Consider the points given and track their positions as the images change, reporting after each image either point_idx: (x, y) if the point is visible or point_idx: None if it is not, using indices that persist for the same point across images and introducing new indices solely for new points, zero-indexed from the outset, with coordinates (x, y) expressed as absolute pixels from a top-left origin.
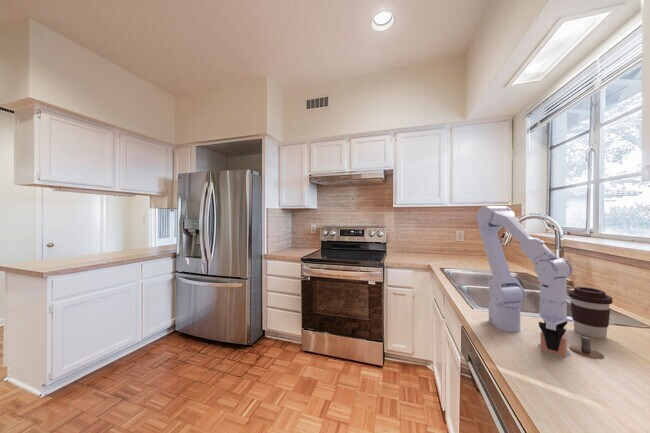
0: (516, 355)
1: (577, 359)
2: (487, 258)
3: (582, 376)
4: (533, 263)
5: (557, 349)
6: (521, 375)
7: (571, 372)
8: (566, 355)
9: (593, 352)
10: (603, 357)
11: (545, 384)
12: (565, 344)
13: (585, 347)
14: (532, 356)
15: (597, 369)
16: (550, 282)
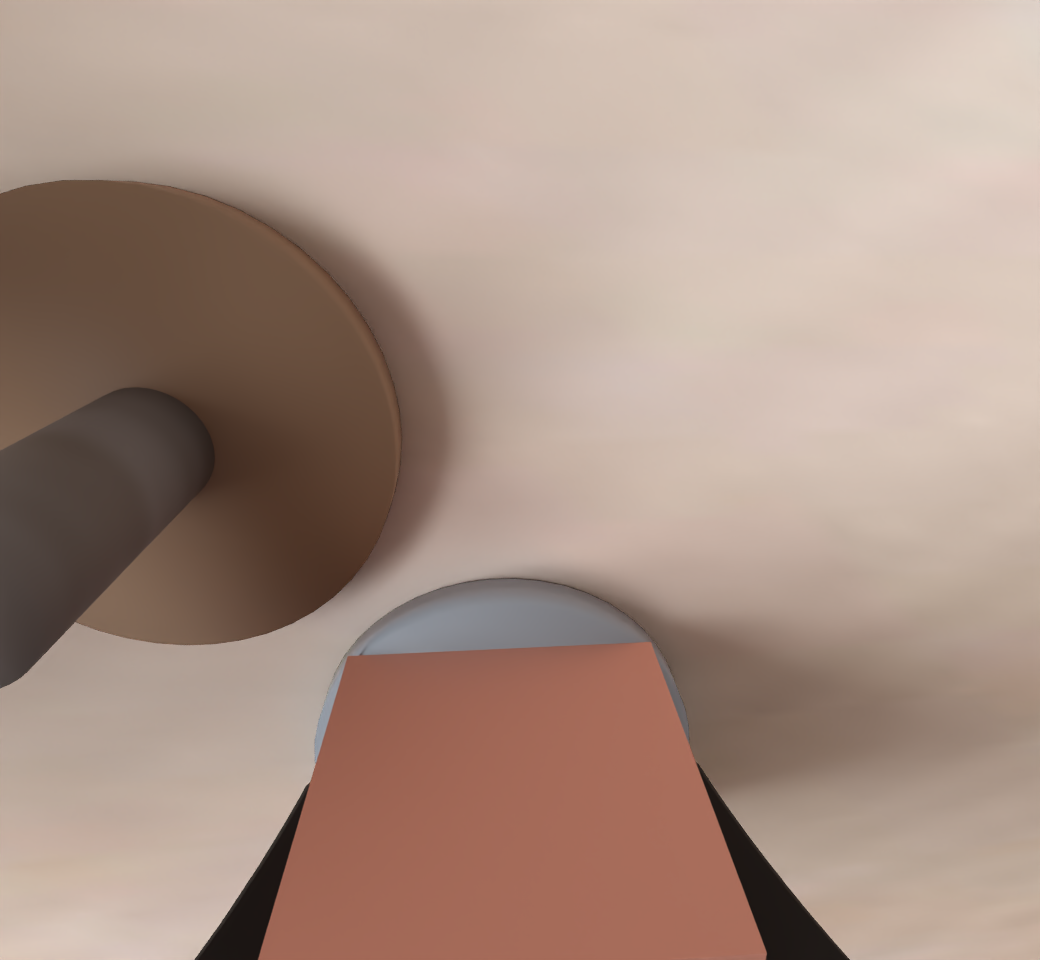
0: (883, 924)
1: (492, 509)
2: None
3: (1032, 433)
4: None
5: (713, 790)
6: None
7: (986, 535)
8: (585, 639)
9: (49, 348)
10: (132, 196)
11: None
12: (692, 815)
13: (162, 497)
14: (804, 842)
15: (655, 280)
16: None
